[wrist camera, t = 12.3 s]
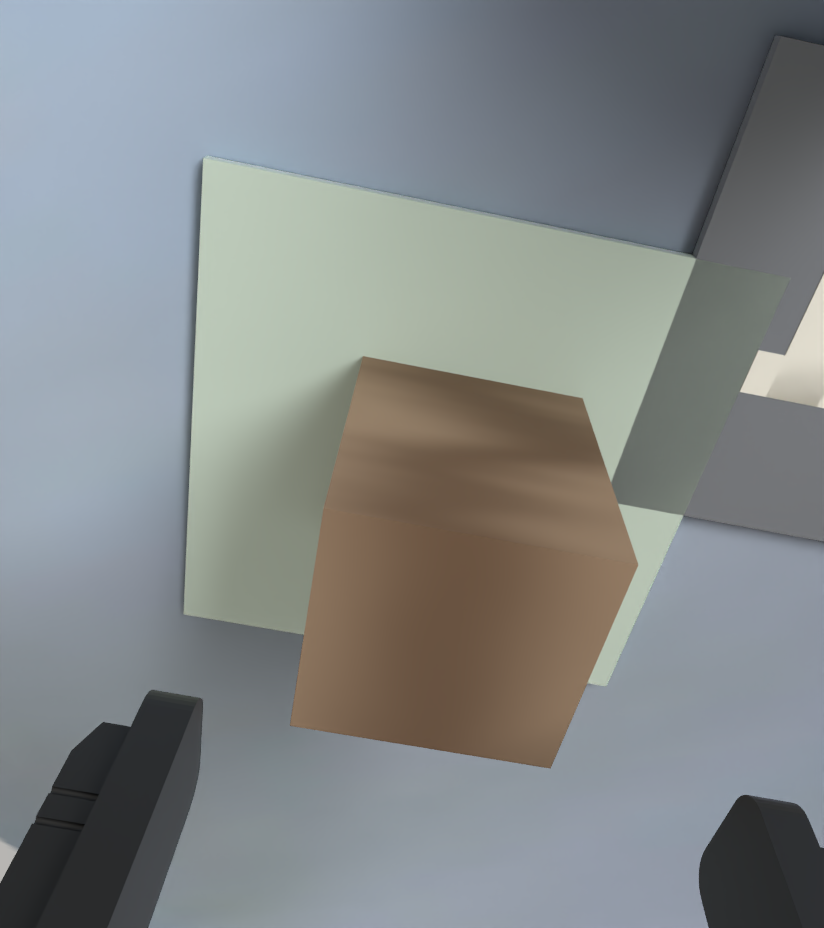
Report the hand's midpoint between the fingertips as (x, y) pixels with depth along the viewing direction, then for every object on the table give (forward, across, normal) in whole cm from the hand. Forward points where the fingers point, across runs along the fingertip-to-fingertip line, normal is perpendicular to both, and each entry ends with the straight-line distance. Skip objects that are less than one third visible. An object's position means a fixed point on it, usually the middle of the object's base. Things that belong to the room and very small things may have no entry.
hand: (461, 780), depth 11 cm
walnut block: (+8, 0, 0) cm, 8 cm away
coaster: (+9, +1, 0) cm, 9 cm away
